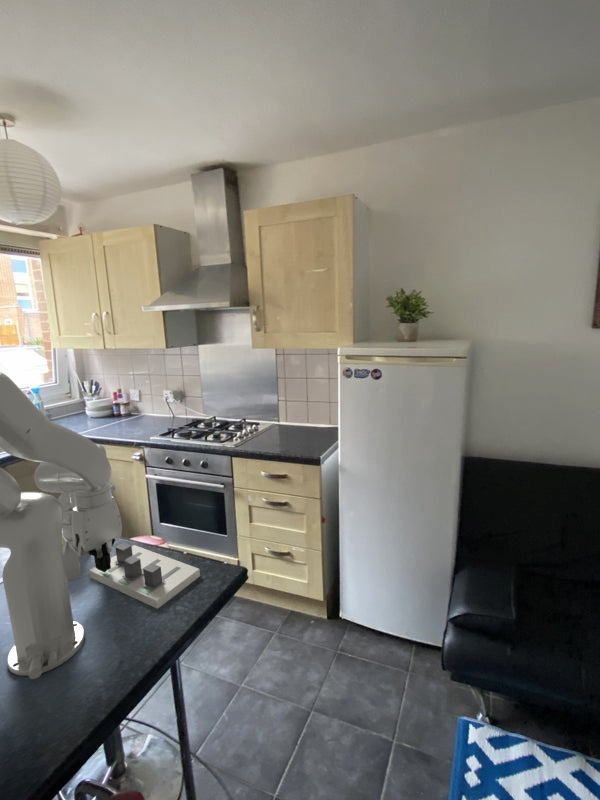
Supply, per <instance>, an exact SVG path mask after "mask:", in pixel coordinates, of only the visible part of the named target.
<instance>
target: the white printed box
mask: <svg viewBox="0 0 600 800" xmlns="http://www.w3.org/2000/svg"><path fill="white" fill-rule="evenodd" d="M62 550H63V558H64V565H65V571H66V577H67V583H68V582H71V581H73V580H75V579H78V578H82V572H81V563H80V557H79V556H78V555H77V552H76V551H75V549H74V548H73V546H72V545H71V544H70V542H69V541H68V540H67V539H66V538H65V537H64V535H63V533H62Z"/></svg>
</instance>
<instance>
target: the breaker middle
mask: <svg viewBox="0 0 600 800" xmlns="http://www.w3.org/2000/svg"><path fill="white" fill-rule="evenodd" d="M123 563H124V571H125V575H123V576H122V577H123V578H125V579H128V580H130V581H134V580H135V579H137V578H138V577H140V576H141V575H143V574H144V572H143V571H142V570H141V562H140V559H139V558H137V557H134V556H130V557H129V558H127V559H125V560H124V561H123Z"/></svg>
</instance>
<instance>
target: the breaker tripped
mask: <svg viewBox="0 0 600 800" xmlns="http://www.w3.org/2000/svg"><path fill="white" fill-rule="evenodd" d="M132 546H133V545H131V544H128V543H125V542H123V543H121V544H119V545H117V546H115V554H116V556H117V561H115V562H114V563H116V564H119V565H121V566H123V567H124V563H123V561H124V560H125V559H127V558H129V557H130V556H133V554H132Z"/></svg>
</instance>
